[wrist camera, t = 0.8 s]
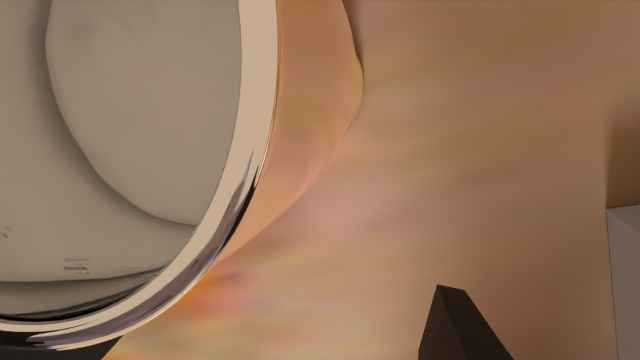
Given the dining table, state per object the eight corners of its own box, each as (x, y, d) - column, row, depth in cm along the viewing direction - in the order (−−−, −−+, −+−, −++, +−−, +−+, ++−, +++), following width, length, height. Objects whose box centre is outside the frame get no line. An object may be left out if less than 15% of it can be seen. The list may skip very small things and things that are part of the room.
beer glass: (359, -9, 16) (169, -758, 2) (383, 145, 18) (371, 357, 3) (217, 27, 18) (-485, -257, 3) (249, 167, 19) (-165, 382, 5)
